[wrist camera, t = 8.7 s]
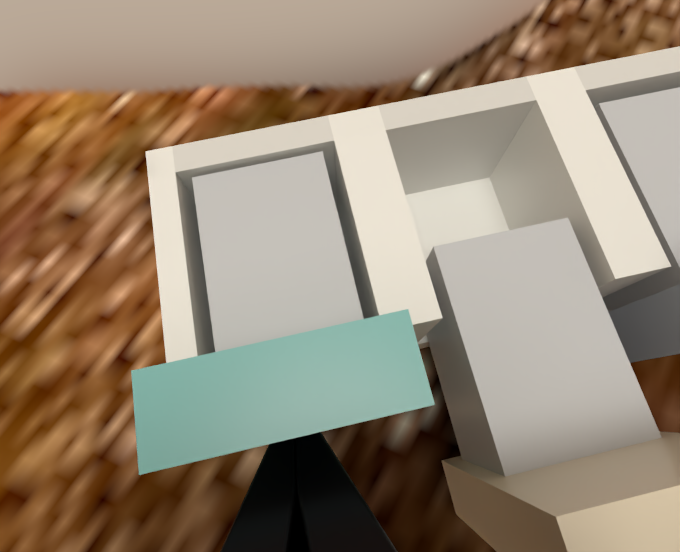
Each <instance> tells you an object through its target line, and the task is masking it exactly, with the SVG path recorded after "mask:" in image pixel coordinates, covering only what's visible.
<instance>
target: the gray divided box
mask: <svg viewBox="0 0 680 552" xmlns="http://www.w3.org/2000/svg"><path fill="white" fill-rule="evenodd" d="M678 87H680V47H674V48H669V49H664V50H659V51H654V52H649V53H644V54H639V55H634V56H629V57H624V58H618V59H613V60H608V61H603V62H598V63H593V64H588V65H583V66H578V67H573V68H568V69H563V70H557V71H552V72H547V73H542V74H537V75H532V76H527V77H522V78H517V79H512V80H507V81H502V82H496V83H491V84H486V85H481V86H476V87H471V88H466V89H461V90H456V91H451V92H446V93H441V94H435V95H430V96H425V97H420V98H415V99H410V100H405V101H400V102H395V103H390V104H385V105H379V106H374V107H369V108H364V109H359V110H354V111H349V112H344V113H339V114H334V115H329V116H324V117H318V118H313V119H308V120H303V121H298V122H293V123H288V124H283V125H278V126H273V127H268V128H263V129H257V130H252V131H247V132H242V133H237V134H232V135H227V136H222V137H217V138H212V139H207V140H202V141H196V142H191V143H186V144H181V145H176V146H171V147H166V148H161V149H156V150H151V151H146V160H147V170H148V181H149V191H150V201H151V211H152V221H153V232H154V242H155V252H156V262H157V272H158V282H159V293H160V303H161V313H162V323H163V333H164V344H165V354H166V363H169V362H173V361H177V360H182V359H186V358H191V357H195V356H200V355H204V354H209V353H213V352H215V346H214V339H213V331H212V324H211V316H210V309H209V301H208V294H207V286H206V279H205V271H204V264H203V256H202V249H201V241H200V234H199V226H198V219H197V211H196V204H195V196H194V189H193V182H192V177H197V176H202V175H207V174H212V173H217V172H222V171H227V170H232V169H237V168H242V167H247V166H252V165H257V164H262V163H267V162H271V161H276V160H281V159H286V158H291V157H296V156H301V155H306V154H311V153H316V152H321V151H323V155H324V159H325V163H326V168H327V172H328V176H329V180H330V184H331V188H332V192H333V196H334V200H335V204H336V208H337V212H338V217H339V221H340V225H341V229H342V233H343V237H344V241H345V245H346V249H347V253H348V257H349V261H350V265H351V270H352V274H353V278H354V282H355V286H356V290H357V294H358V298H359V302H360V306H361V310H362V314H363V319H365V318H370V317H374V316H379V315H383V314H388V313H392V312H397V311H401V310H406V309H408V310H409V314H410V317H411V321H412V324H413V328H414V332H415V335H416V339H417V342H418V346H419V349H421V348H425V347H430V346H429V342H428V339H427V335H426V334H427V333H428V332H429V331H430V330H431V329H432V328H433V327H434V326H435V325H436V324H437V323H438V322H439V321H440V320H441V319H442V314H441V311H440V308H439V304H438V301H437V298H436V294H435V291H434V288H433V284H432V281H431V278H430V275H429V271H428V268H427V265H426V260H427V258H428V256H429V254H430V252H431V250H432V248H433V247H434V246H439V245H443V244H448V243H452V242H457V241H462V240H466V239H471V238H476V237H480V236H485V235H489V234H494V233H499V232H503V231H508V230H513V229H517V228H522V227H526V226H531V225H536V224H540V223H545V222H550V221H554V220H559V219H563V218H568V219H569V221H570V223H571V226H572V228H573V230H574V233H575V235H576V237H577V240H578V242H579V244H580V247H581V249H582V251H583V254H584V256H585V259H586V261H587V263H588V266H589V268H590V270H591V273H592V275H593V277H594V280H595V282H596V284H597V287H598V289H599V291H600V294H601V296H602V298H603V297H605V296H607V295H609V294H611V293H614V292H616V291H618V290H620V289H623V288H625V287H627V286H629V285H631V284H634V283H636V282H638V281H640V280H642V279H645V278H647V277H649V276H651V275H653V274H656V273H658V272H660V271H662V270H664V269H667V268H669V267H671V265H670V263H669V261H668V258H667V256H666V254H665V252H664V250H663V248H662V246H661V244H660V242H659V240H658V238H657V236H656V234H655V232H654V230H653V228H652V226H651V224H650V222H649V220H648V217H647V215H646V213H645V211H644V209H643V207H642V205H641V203H640V201H639V199H638V197H637V195H636V193H635V191H634V189H633V187H632V185H631V183H630V181H629V179H628V177H627V174H626V172H625V170H624V168H623V166H622V164H621V162H620V160H619V158H618V156H617V154H616V152H615V150H614V148H613V146H612V144H611V142H610V140H609V138H608V136H607V134H606V131H605V129H604V127H603V125H602V123H601V121H600V119H599V117H598V115H597V113H596V111H595V108H596V106H597V105H598V104H599V103H604V102H609V101H614V100H619V99H624V98H629V97H634V96H639V95H644V94H648V93H653V92H658V91H663V90H668V89H673V88H678Z"/></svg>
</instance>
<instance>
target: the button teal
mask: <svg viewBox="0 0 680 552" xmlns="http://www.w3.org/2000/svg"><path fill="white" fill-rule="evenodd" d="M192 182H193V189H194V196H195V204H196V211H197V219H198V226H199V234H200V241H201V249H202V256H203V264H204V271H205V279H206V286H207V294H208V301H209V309H210V316H211V324H212V331H213V339H214V346H215V352H213V353H209V354H204V355H200V356H195V357H191V358H186V359H182V360H177V361H173V362H169V363H164V364H160V365H155V366H151V367H146V368H142V369H137V370H133V371H131V373H132V386H133V400H134V414H135V428H136V441H137V455H138V469H139V475H141V474H145V473H149V472H154V471H158V470H162V469H166V468H170V467H175V466H179V465H183V464H187V463H192V462H196V461H200V460H204V459H208V458H213V457H217V456H221V455H225V454H230V453H234V452H238V451H242V450H246V449H251V448H255V447H259V446H263V445H268V444H272V443H276V442H280V441H284V440H289V439H293V438H297V437H301V436H306V435H310V434H314V433H318V432H322V431H327V430H331V429H335V428H339V427H344V426H348V425H352V424H356V423H360V422H365V421H369V420H373V419H377V418H382V417H386V416H390V415H394V414H398V413H403V412H407V411H411V410H415V409H420V408H424V407H428V406H432V405H435V403H434V399H433V396H432V392H431V389H430V385H429V382H428V378H427V374H426V371H425V367H424V364H423V360H422V357H421V353H420V349H419V346H418V342H417V339H416V335H415V332H414V328H413V324H412V321H411V317H410V314H409V310H408V309H406V310H401V311H397V312H392V313H388V314H383V315H379V316H374V317H370V318H365V319H363V314H362V310H361V306H360V302H359V298H358V294H357V290H356V286H355V282H354V278H353V274H352V270H351V265H350V261H349V257H348V253H347V249H346V245H345V241H344V237H343V233H342V229H341V225H340V221H339V217H338V212H337V208H336V204H335V200H334V196H333V192H332V188H331V184H330V180H329V176H328V172H327V168H326V163H325V159H324V155H323V151H321V152H316V153H311V154H306V155H301V156H296V157H291V158H286V159H281V160H276V161H271V162H267V163H262V164H257V165H252V166H247V167H242V168H237V169H232V170H227V171H222V172H217V173H212V174H207V175H202V176H197V177H192Z"/></svg>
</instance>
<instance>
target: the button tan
mask: <svg viewBox="0 0 680 552" xmlns="http://www.w3.org/2000/svg"><path fill="white" fill-rule="evenodd" d="M426 265H427V268H428V271H429V275H430V278H431V281H432V284H433V288H434V291H435V294H436V298H437V301H438V304H439V308H440V311H441V314H442V319H441V320H440V321H439V322H438V323H437V324H436V325H435V326H434V327H433V328H432V329H431V330H430V331H429V332H428V333H427V334H426V335H427V339H428V342H429V346H430V349H431V353H432V356H433V359H434V363H435V366H436V370H437V373H438V377H439V380H440V384H441V387H442V391H443V394H444V398H445V401H446V405H447V408H448V412H449V415H450V419H451V422H452V426H453V429H454V433H455V436H456V439H457V443H458V446H459V450H460V453H461V456H457V457H453V458H449V459H445V460H441V461H442V465H443V468H444V472H445V476H446V479H447V483H448V487H449V490H450V494H451V498H452V501H453V505H454V509H455V512H456V515H457V516H458V517H459V518H460V519H462V520H463V521H464V522H465V523H466V524H467V525H468V526H469V527H470V528H471V529H472V530H474V531H475V532H476V533H477V534H478V535H479V536H480V537H481V538H482V539H483V540H484V541H486V542H487V543H488V544H489V545H490V546H491V547H492V548H493V549H494V550H495V551H496V552H680V433H675V432H659V430H658V428H657V425H656V423H655V421H654V418H653V416H652V414H651V411H650V409H649V407H648V404H647V402H646V400H645V397H644V395H643V392H642V390H641V388H640V385H639V383H638V381H637V378H636V376H635V374H634V371H633V369H632V367H631V364H630V362H629V360H628V357H627V355H626V353H625V350H624V348H623V345H622V343H621V341H620V338H619V336H618V334H617V331H616V329H615V327H614V324H613V322H612V320H611V317H610V315H609V313H608V310H607V308H606V306H605V303H604V301H603V298H602V296H601V294H600V291H599V289H598V287H597V284H596V282H595V280H594V277H593V275H592V273H591V270H590V268H589V266H588V263H587V261H586V259H585V256H584V254H583V251H582V249H581V247H580V244H579V242H578V240H577V237H576V235H575V233H574V230H573V228H572V226H571V223H570V221H569V219H568V218H563V219H559V220H554V221H550V222H545V223H540V224H536V225H531V226H526V227H522V228H517V229H513V230H508V231H503V232H499V233H494V234H489V235H485V236H480V237H476V238H471V239H466V240H462V241H457V242H452V243H448V244H443V245H439V246H434V247H433V248H432V250H431V252H430V254H429V256H428V258H427V260H426Z"/></svg>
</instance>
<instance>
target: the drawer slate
mask: <svg viewBox="0 0 680 552" xmlns="http://www.w3.org/2000/svg"><path fill="white" fill-rule="evenodd" d="M595 111H596V113H597V115H598V117H599V119H600V121H601V123H602V125H603V127H604V129H605V131H606V134H607V136H608V138H609V140H610V142H611V144H612V146H613V148H614V150H615V152H616V154H617V156H618V158H619V160H620V162H621V164H622V166H623V168H624V170H625V172H626V174H627V177H628V179H629V181H630V183H631V185H632V187H633V189H634V191H635V193H636V195H637V197H638V199H639V201H640V203H641V205H642V207H643V209H644V211H645V213H646V215H647V217H648V220H649V222H650V224H651V226H652V228H653V230H654V232H655V234H656V236H657V238H658V240H659V242H660V244H661V246H662V248H663V250H664V252H665V254H666V256H667V258H668V261H669V263H670V265H671V267H669V268H667V269H664V270H662V271H660V272H658V273H656V274H653V275H651V276H649V277H647V278H645V279H642V280H640V281H638V282H636V283H634V284H631V285H629V286H627V287H625V288H623V289H620V290H618V291H616V292H614V293H611V294H609V295H607V296H605V297H603V301H604V303H605V306H606V308H607V310H608V313H609V315H610V317H611V320H612V322H613V324H614V327H615V329H616V331H617V334H618V336H619V338H620V341H621V343H622V345H623V348H624V350H625V353H626V355H627V357H628V360H629V362H630V363H631V362H636V361H642V360H647V359H653V358H658V357H664V356H670V355H675V354H680V87H678V88H673V89H668V90H663V91H658V92H653V93H648V94H644V95H639V96H634V97H629V98H624V99H619V100H614V101H609V102H604V103H599V104H598V105H597V106H596V108H595Z"/></svg>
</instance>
